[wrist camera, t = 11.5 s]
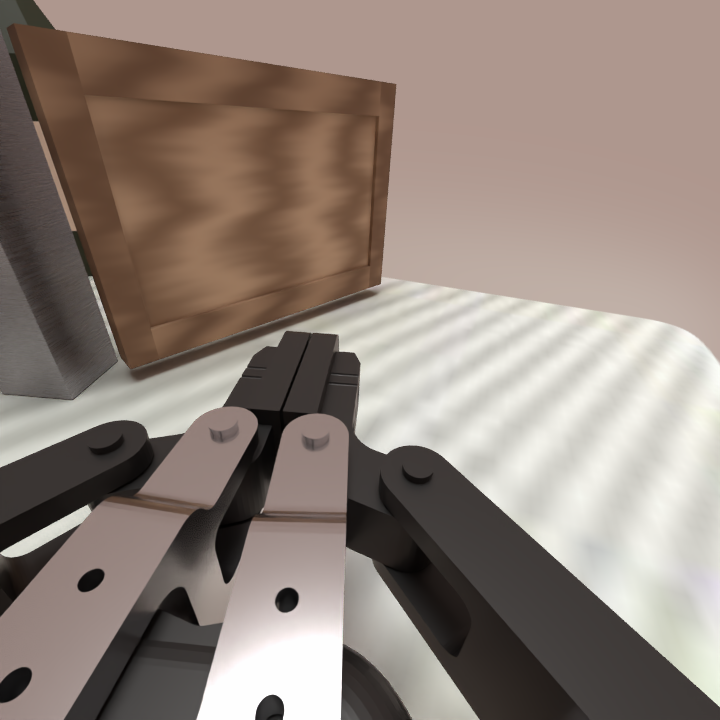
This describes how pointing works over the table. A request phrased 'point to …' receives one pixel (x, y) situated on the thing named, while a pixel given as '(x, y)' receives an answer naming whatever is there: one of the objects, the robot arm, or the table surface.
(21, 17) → the wine bottle
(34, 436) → the table surface
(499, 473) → the table surface
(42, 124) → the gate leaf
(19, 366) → the gate post
